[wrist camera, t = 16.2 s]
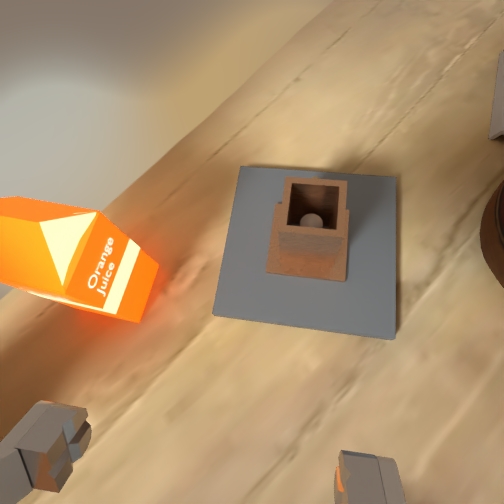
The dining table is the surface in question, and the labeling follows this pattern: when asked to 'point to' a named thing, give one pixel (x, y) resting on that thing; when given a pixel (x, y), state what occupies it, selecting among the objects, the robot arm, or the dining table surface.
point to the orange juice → (73, 258)
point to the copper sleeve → (310, 230)
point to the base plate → (305, 289)
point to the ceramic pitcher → (494, 234)
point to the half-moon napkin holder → (498, 102)
